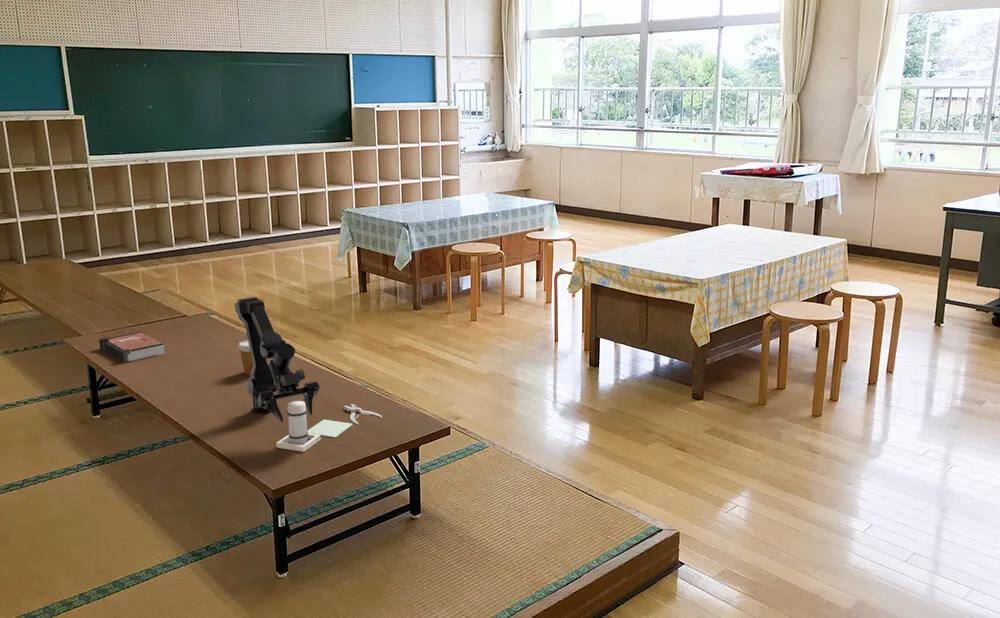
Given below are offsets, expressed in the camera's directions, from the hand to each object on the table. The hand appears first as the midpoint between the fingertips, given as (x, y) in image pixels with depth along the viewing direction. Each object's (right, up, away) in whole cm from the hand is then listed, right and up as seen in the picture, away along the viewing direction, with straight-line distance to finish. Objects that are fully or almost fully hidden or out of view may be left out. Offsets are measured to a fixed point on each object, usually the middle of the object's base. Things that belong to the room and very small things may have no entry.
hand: (296, 418), depth 249 cm
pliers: (+15, -3, +25) cm, 29 cm away
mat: (+7, -5, +13) cm, 15 cm away
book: (-92, +15, +91) cm, 131 cm away
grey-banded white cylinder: (0, -8, +2) cm, 8 cm away
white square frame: (0, -8, +2) cm, 8 cm away
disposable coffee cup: (-33, +9, +66) cm, 74 cm away
